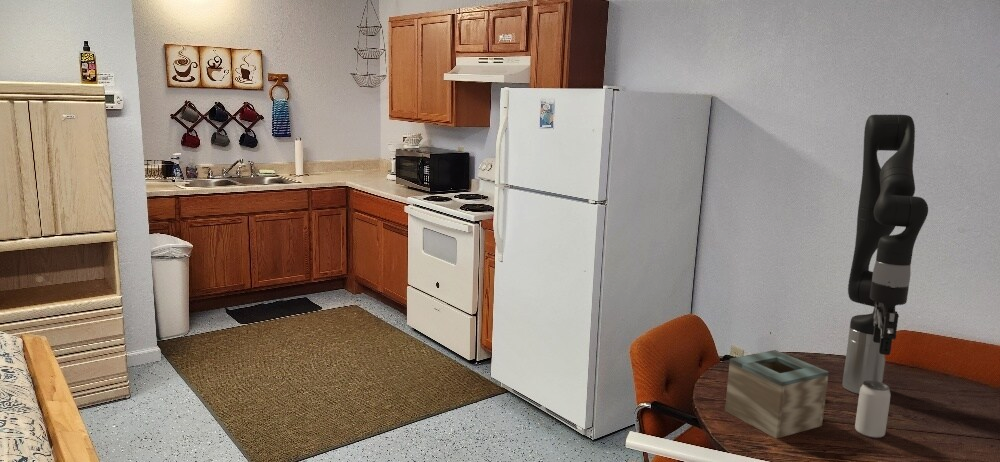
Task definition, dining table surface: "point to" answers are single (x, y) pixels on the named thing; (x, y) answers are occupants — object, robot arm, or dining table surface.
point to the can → (873, 409)
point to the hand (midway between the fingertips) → (880, 348)
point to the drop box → (776, 393)
